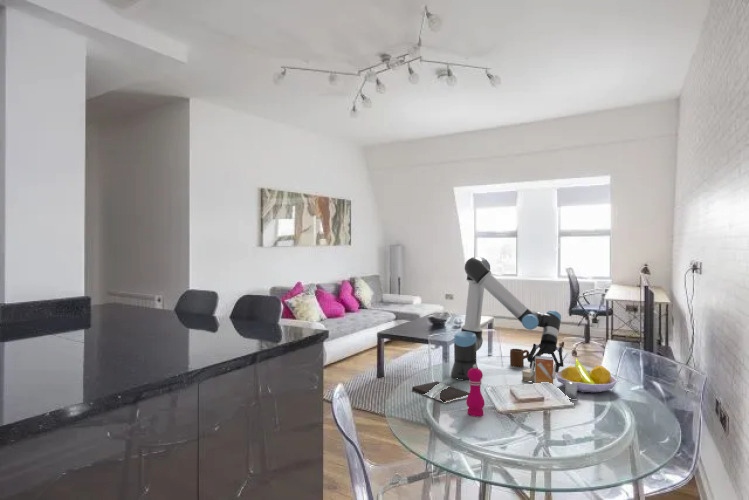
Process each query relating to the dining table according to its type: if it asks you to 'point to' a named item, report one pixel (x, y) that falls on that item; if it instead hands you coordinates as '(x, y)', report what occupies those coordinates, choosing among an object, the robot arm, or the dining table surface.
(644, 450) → the dining table surface
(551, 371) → the small box
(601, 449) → the dining table surface
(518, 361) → the mug
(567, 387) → the grey metal tin
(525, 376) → the birch block
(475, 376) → the pepper mill
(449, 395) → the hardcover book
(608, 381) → the fruit bowl
